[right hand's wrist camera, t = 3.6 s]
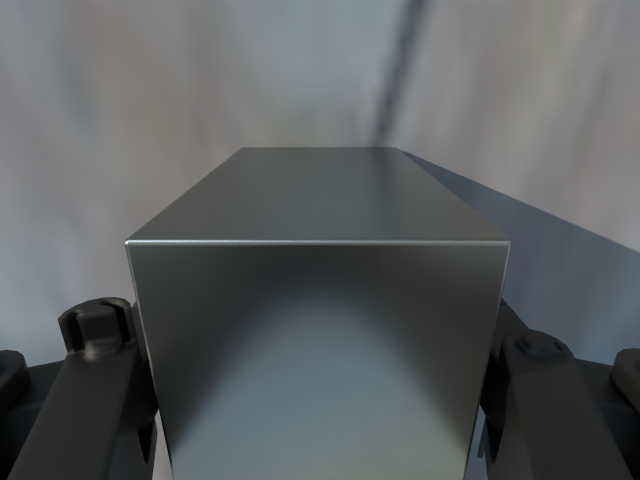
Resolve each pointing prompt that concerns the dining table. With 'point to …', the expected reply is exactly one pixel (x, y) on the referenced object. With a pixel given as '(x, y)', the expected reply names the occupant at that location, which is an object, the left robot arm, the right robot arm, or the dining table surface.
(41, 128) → the dining table surface
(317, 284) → the bar
